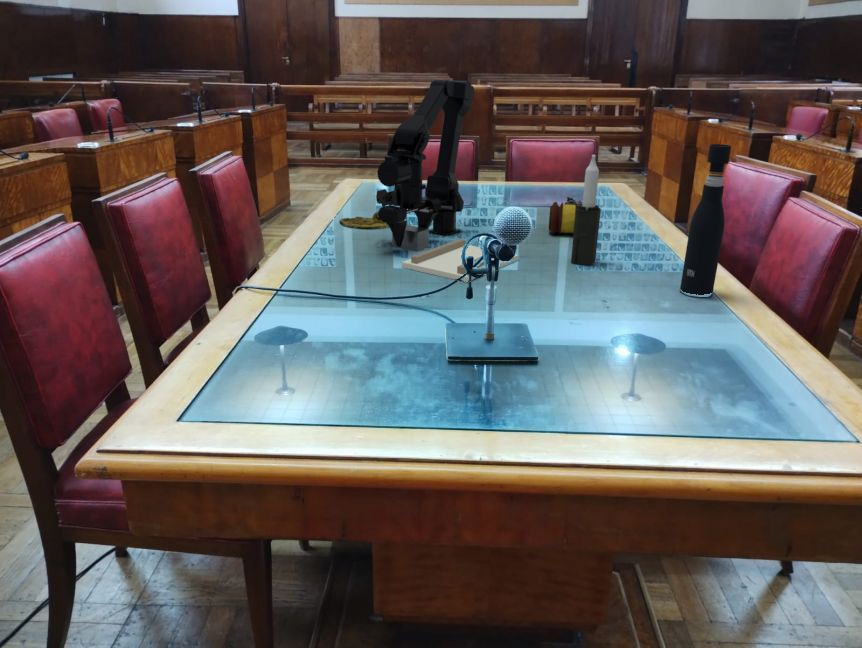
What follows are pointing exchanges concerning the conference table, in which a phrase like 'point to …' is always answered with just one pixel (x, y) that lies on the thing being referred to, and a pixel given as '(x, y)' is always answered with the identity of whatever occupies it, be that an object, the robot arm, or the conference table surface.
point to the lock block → (414, 238)
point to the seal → (364, 223)
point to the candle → (587, 220)
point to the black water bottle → (706, 228)
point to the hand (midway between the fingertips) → (410, 242)
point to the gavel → (563, 216)
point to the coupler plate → (446, 260)
